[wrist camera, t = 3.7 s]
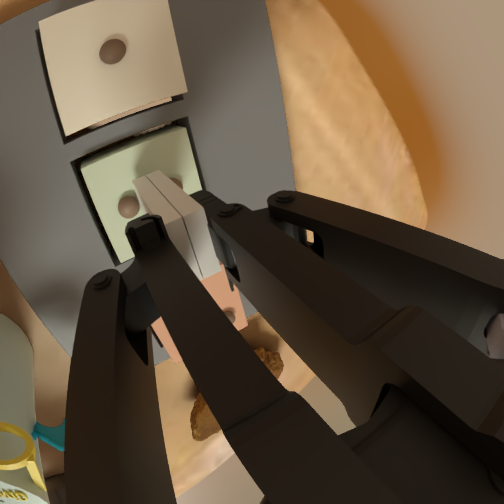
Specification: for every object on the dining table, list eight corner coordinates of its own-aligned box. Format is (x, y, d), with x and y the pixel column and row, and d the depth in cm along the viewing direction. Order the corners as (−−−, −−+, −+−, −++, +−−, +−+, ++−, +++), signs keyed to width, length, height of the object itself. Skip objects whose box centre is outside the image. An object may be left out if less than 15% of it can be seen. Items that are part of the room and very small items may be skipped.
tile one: (69, 132, 13) (65, 136, 10) (46, 35, 9) (37, 19, 7) (171, 94, 15) (189, 91, 12) (150, 2, 11) (166, -18, 9)
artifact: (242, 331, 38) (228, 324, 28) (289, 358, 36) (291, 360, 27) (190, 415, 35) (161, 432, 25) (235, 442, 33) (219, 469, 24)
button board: (96, 368, 22) (101, 390, 20) (-50, 71, 8) (-66, 68, 6) (288, 272, 29) (304, 285, 27) (238, -23, 14) (257, -34, 12)
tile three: (162, 337, 22) (176, 366, 20) (130, 278, 19) (140, 307, 16) (229, 302, 24) (250, 327, 21) (210, 240, 21) (232, 262, 18)
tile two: (115, 242, 19) (121, 265, 16) (81, 160, 15) (80, 170, 13) (194, 206, 21) (212, 223, 18) (171, 124, 17) (187, 128, 15)
